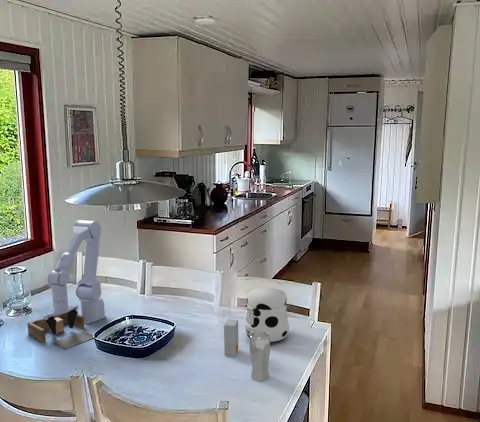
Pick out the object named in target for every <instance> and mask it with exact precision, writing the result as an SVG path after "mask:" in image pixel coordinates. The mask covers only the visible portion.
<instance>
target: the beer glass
mask: <svg viewBox="0 0 480 422" xmlns="http://www.w3.org/2000/svg"><path fill="white" fill-rule="evenodd" d="M249 354H250V360H251V361H250V362H251V367H252V368H251V374H250V375H251V376H250V377H251V379H252V380H254V381H256V382H264V381H267V380H268V379H269V378H270V373H269V362H270V355H271V343H270V334H269V333H268V332H265V331H254V332H252V333H251V334H250V338H249Z"/></svg>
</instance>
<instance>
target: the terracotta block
mask: <svg viewBox="0 0 480 422" xmlns="http://www.w3.org/2000/svg"><path fill="white" fill-rule="evenodd" d="M54 319H56V320H57V321H56V334H59V333H61V332H64V324H63V319H61V318H58V317H57V318H54ZM49 328H50V327H49ZM49 332H50V333H52V332H51V329H49Z"/></svg>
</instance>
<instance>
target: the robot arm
mask: <svg viewBox="0 0 480 422" xmlns="http://www.w3.org/2000/svg"><path fill="white" fill-rule="evenodd" d="M101 231H102V225H101V224H100V223H99V222H98V221H97V220H86V219H85V220H84V219H78V220H76V221H75V222H74V225H73V227H72V233H73V234H72V236H71V239H70V242H69V244H68V247H67V249H66V250H65V252H64V253H62V254H61V255H60V257H59V259H58V260H57V263H56V265H55V267H54V269H53V270H52V271H50V272H49V273H48V277H47V279H46V280H47V283H48V284H49V286H50V289H51V297H52V307H53V309H52V310H50V311H48V312H45V313H43V314H42V318H43V319H44V320H46V322H47V323H48V325H49V327H50V329H51V332H50V333H51V334H52V335H53V336H55V335H57V333H56V321H57V320H56V319H54V317H55V316H58V315H61V314H64V313H67V316H68V322H67V324H68V328H70V329H74V326H75V325H74V321H75V318H76V316H77V314H79V312H78V310H79V305H78V304H77V303H75V304H69V299H68V288H67V287H68V286H67V284H68V283H69V281H70V275H71V272H70V271H71V269H72V267H73V265H74V263H75V261H76V260H75V259H76V257H75V255H76V253H77V251H78V250H79V248H80V246H81V244H82V243H83V241H84V240H85V241H86V246H85V255H84V256H85V257H84V267H83V274H82V276H83V277H82V278H81V279H79V280H78V281H77V287H76V288H75V296H76V297H77V298H78V300H79V301H80V312H81V314H80V315H81V316H84V324H86V325H87V324H91V323H93V322H97V321H101V320H103V319H105V318H106V317H107V316H106V314H105V313H106V310H105V303H104V299H103V298H102V297H101V295H102V289H101V288H102V287H101V284H102V283H101V282H100V281H99V280H98V279H97V273H98V272H97V270H98V261H99V260H98V259H99V251H100V242H101V234H102V233H101ZM50 329H49V330H50Z"/></svg>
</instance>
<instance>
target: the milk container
mask: <svg viewBox="0 0 480 422" xmlns="http://www.w3.org/2000/svg"><path fill="white" fill-rule="evenodd" d="M287 300H288V299H287V293H286V292H285V291H284V290H282V289H278V288H274V287H273V288H272V287H261V288H260V287H259V288H255V289H252V290H250V291H249V292H248V293H247V297H246V303H247V304H246V310H247V315H246V320H245V324H244V329H245V334H246V335H247V337H248V338H249V339H250V334H251V333H252V332H254V331H265V332H268V333H269V334H270V344H273V343H279V342H280V341H283V340H284V339H286V337H287V336H288V334H289V328H290V324H289V319H288V316H287V313H288V312H287V309H288V308H287V307H288V306H287V302H288V301H287Z"/></svg>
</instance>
